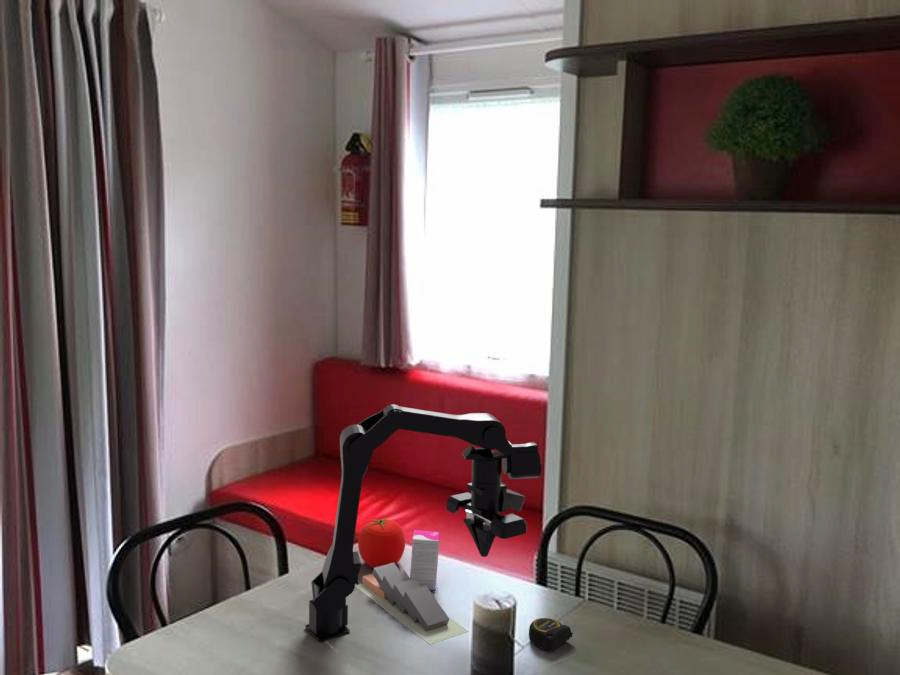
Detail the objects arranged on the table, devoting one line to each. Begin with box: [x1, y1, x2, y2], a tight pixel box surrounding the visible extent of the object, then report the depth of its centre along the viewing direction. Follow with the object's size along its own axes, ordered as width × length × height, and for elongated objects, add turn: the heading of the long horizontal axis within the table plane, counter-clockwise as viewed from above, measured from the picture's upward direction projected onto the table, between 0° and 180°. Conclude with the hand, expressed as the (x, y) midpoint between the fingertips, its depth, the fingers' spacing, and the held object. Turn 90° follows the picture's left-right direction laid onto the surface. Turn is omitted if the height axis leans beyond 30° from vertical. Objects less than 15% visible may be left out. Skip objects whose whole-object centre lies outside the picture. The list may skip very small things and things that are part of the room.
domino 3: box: [382, 569, 411, 614], centre depth 165 cm, size 5×2×9 cm
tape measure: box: [528, 617, 574, 651], centre depth 151 cm, size 7×7×4 cm
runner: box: [355, 583, 469, 646], centre depth 163 cm, size 9×29×1 cm, turn 36°
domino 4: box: [393, 578, 421, 623], centre depth 161 cm, size 5×2×9 cm
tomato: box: [357, 517, 406, 569], centre depth 183 cm, size 10×11×11 cm
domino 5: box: [404, 586, 450, 631], centre depth 158 cm, size 5×2×9 cm
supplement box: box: [409, 529, 440, 593], centre depth 173 cm, size 6×6×12 cm
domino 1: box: [362, 573, 388, 599], centre depth 171 cm, size 5×2×9 cm
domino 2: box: [371, 563, 400, 605], centre depth 168 cm, size 5×2×9 cm
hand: (484, 556), depth 158 cm, fingers closed
